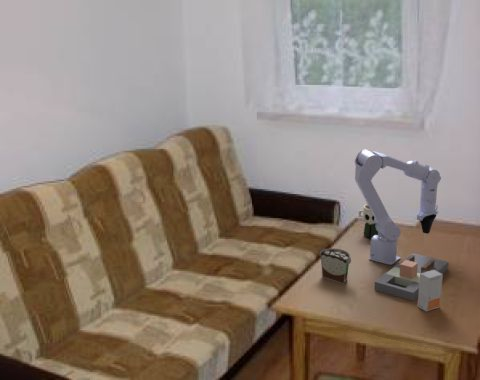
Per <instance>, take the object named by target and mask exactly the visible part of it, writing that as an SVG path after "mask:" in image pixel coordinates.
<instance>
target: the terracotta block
mask: <svg viewBox="0 0 480 380" xmlns="http://www.w3.org/2000/svg"><path fill="white" fill-rule="evenodd" d="M417 269H418V263H416V262H412V261H409V260H405V261H404V262H402V263H401V264H400V275H399V276H401V277H405V278H409V279H413V278H414V277H415V276H416V275H417Z"/></svg>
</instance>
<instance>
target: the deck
mask: <svg viewBox="0 0 480 380" xmlns="http://www.w3.org/2000/svg"><path fill="white" fill-rule="evenodd" d="M410 255H415V261H414V262H416V263H418V269H417V275H416V276H415V277H414V278H413V279H409V278H405V277H401V276H399V275H400V264H401V262H402V261H403V260H405V259H406V258H407V257H408V256H410ZM408 256H407V257H405V258H404V259H403V260H401V261H400V262H398V263H397V264H396V265H394V266H393V267H392V268H391V269H389V270H388V271H387V272H386V273H384V274H383V275H381V276H380V277H379V278H378V279H376V280H374V290H375V291H376V292H377V291H378V292H381V293H385V294H389V295H390V296H391V295H392V296H395V297H398V298H402V299H404V300H408V301H411V302H413V301H415V300H416V299H418V294H419V281H420V274H421V267H422V266H423V265H424V264H426V263H427V262H428V261H429V260H435V262H434V267H433V268H432V269H431V270H435V271H437V272H439V273H441V274H443V275H444V274H445V273H446V272H447V271H448V270H449V261H446V260H442V259H437V258H434V257H431V256H430V257H429V256H426V255H422V254H418V253H414V252H412V253H410V254H409V255H408ZM431 270H430V271H431Z"/></svg>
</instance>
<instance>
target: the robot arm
mask: <svg viewBox="0 0 480 380" xmlns="http://www.w3.org/2000/svg"><path fill="white" fill-rule="evenodd" d="M354 163H355V170H354V172H355V173H354V180H355V184H357V186H358V189H359V191H360V193H361V194H362V196H363V198H364V201H365V202H366V205H367V204H368V206H369V208H370V210H371V212H372V214H373V215H374V217H375V218H374V221H375V223H376V226H375V227H376V230H377V231H378V235H374V236H373V237H372V238H371V239H370V243H369V244H370V245H369V247H370V248H369V249H370V250H369V257H368V260H370V261H374V262H377V263H380V264H385V265H388V266H389V265H390V266H392V265H394V264H395V263H397V262H398V261H399V260H400V259H401V258H402V257H401V256H398V255H397V252H398V251H397V250H398V249H397V248H398V239H399V238H400V236H401V228H400V227H399V226H398V225H397V224H396V223H395V222H394V220H393V218H392V217H390V215H389V213H388V212H387V209H386V208H385V205H384V203H383V201H382V200H381V197H380V196H379V194H378V192H377V189H376V188H375V186H374V183H373V182H372V179H373V178H374V177H375V175H376V174H377V173H378V172H379V171H380V169H382V170H383V169H385V168H386V167H388V168H389V167H390V168H393V169H396V170H399V171H403V174H404V175H405V176H406V177H408V178H409V177H410V178H412V179H415V180H417V181H421V184H420V201H419V209H418V212H417V215H416V220H418V221H419V222H420V226H421V229H422V230H421V231H422V234H427V235H428V234H429V233H430V231H431V229H432V226H433V223H434V220H435V219H436V217H437V215H438V214H439V211H438V207H439V205H438V204H437V197H438V196H437V193H438V186H439V183H440V181H441V179H442V176H441V175H440V172H439V171H438V170H437V169H435V168H433V167H431V166H430V165H428V164H421V163H420V162H419V161H418V160H415V159H414V160H409V161H406V162H405V161H403V160H400V159H398V158H395V157H392V156H390V155H388V154H385V153H381V152H378V151H376V150H372V151H371V150H370V149H362V150H360V151H359V152H358V153H357V154H356V156H355V159H354Z"/></svg>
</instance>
